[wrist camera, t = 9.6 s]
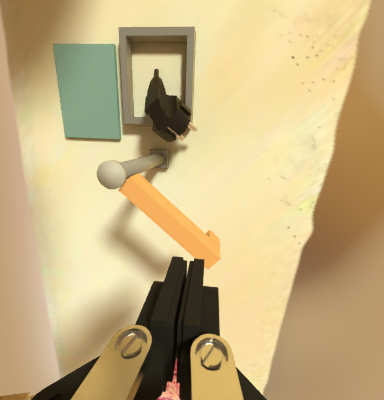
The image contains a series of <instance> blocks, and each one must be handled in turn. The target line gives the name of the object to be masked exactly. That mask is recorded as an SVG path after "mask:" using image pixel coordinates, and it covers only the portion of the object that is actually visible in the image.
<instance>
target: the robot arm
mask: <svg viewBox="0 0 384 400" xmlns="http://www.w3.org/2000/svg"><path fill="white" fill-rule="evenodd" d="M204 260H205V259H195V258H194V261H190V263H189V268H188V273H187V261H185V260H183V257H172V260H171V263H170V266H169V268H168V271H167V274H166V277H165V280H164V282H159V281H154V282H153V284H152V287H151V289H150V291H149V294H148V296H147V298H146V301H145V303H144V305H143V308H142V310H141V312H140V315H139V317H138V320H137V322H136V324H135V325H131V326H127V327H125V328H123V329H121V330H120V331H119V332H117V333H116V335H115V336H114V337H113V338H112V340H111V341H110V343H109V344H108V346H107V347H106V349H105V350H104V351H103V353H102V354H101V355H100V356H99V357H97V358H95V359H94V360H92V361H90V362H88V363H87V364H85V365H83V366H82V367H80V368H78V369H77V370H75V371H73V372H72V373H70V374H68V375H66V376H65V377H63V378H61V379H60V380H58V381H56V382H55V383H53V384H51V385H49V386H48V387H46V388H44V389H43V390H42V391H40V392H39V393H37V394H36V395H35V396H30V393H22V394H14V395H6V396H0V400H157V399H158V398H159V397H160V396H161V395H162V392H166V388H167V382H172V381H173V377H174V371H175V365H176V359H177V378H176V383H180V384H179V398H180V400H266V399H265V397H264V396H263V395H262V394H261V393H260V392H259V391H258V390H257V389H256V388H255V387H254V386H253V385H252V383H251V382H250V381H249V380H248V379H247V378H246V377H245V376H244V375H243V374H242V373H241V372H240V371H239V370H238V368H237V367H236V366H235V362H234V357H233V353H232V350H231V348H230V346H229V344H228V343H227V342H226V341H225V340H224V339H223V338H221V337H220V330H219V297H218V287H208V286H203V276H204ZM186 277H187V279H186Z"/></svg>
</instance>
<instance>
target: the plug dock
mask: <svg viewBox="0 0 384 400" xmlns="http://www.w3.org/2000/svg"><path fill="white" fill-rule="evenodd" d="M131 42H187V63H186V100H185V105H186V106H187V107H188V108H189V109H190V110H191V113H192V115H191V116H190V122H191V123H193V96H194V69H195V42H196V32H195V27H119V44H120V63H121V82H122V101H123V120H124V124H132V125H153V121H152V119H151V118H144V117H134V105H133V80H132V54H131ZM121 164H122V165H123V166H124V168H125V170H126V173H127V179H128V178H129V177H131V176H133V175H136V174H138V173H142V172H144V171H146V170H148V169H151V168H153V167H154V168H168V167H169V150H154V149H151V150H150V156H146V157H142V158H138V159H133V160H129V161H125V162H121Z"/></svg>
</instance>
